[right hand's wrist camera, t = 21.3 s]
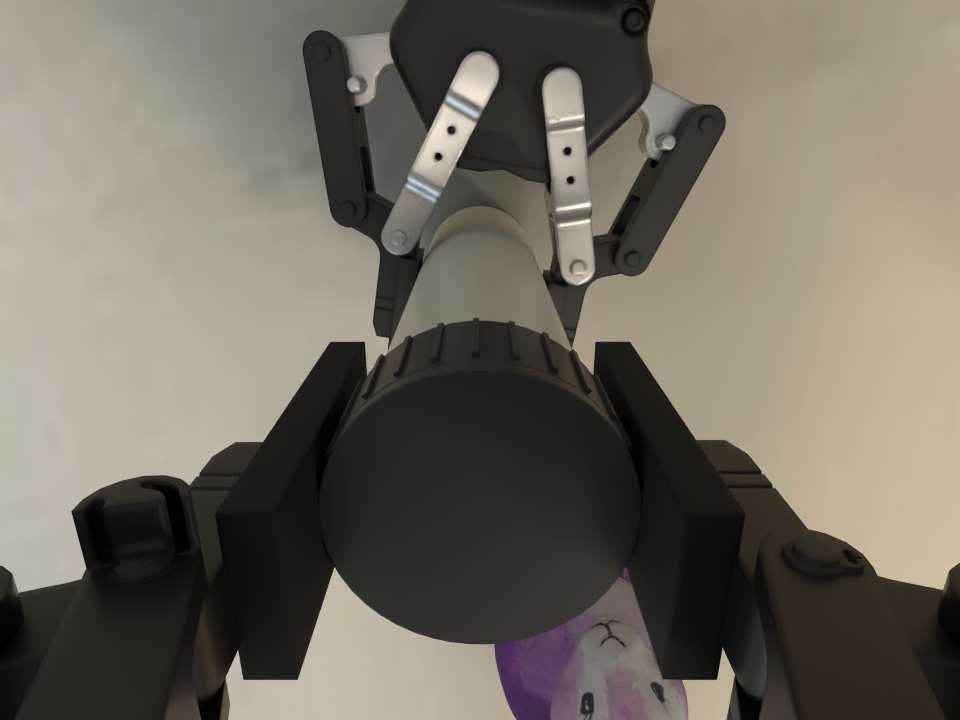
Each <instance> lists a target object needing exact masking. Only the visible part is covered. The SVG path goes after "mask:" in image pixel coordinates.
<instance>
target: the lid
mask: <svg viewBox="0 0 960 720" xmlns="http://www.w3.org/2000/svg"><path fill="white" fill-rule="evenodd" d="M633 450H634V449H633V446H632V444H631V442H630V439H629V437H628V435H627V433H626V431H625V429H624V427H623V424H622V422H621V420H620V418H619V416H618V414H617V412H616V409H615V407H614V405H613V403H612V401H610V400H609V398H608V396H607V394H606V392H605V390H604V387H603V385H602V383H601V381H600V379H599V377H598V375H597V374H596V373H595V374H593V375H592V374H591V373H590V371H589V370H588V369H587V367H586V366H585V365H584V364H583V363H582V362H581V361H580V360H579V357H578V355H577V352H575V351H574V350H573V349H572V350H571V351H569V350H567V349H566V348H565V347H563V346H562V345H561V344H559V343H558V342H556V341H554V340H552V339H550V338H549V335H548V333H546V332H544V331H543V332H542V334H541V333H538V332H536V331H533V330H531V329H528V328H526V327H522V326H518V325H515V322H513V321H509V323H504V322H496V321H479V318H473V321H464V322H456V323H450V324H446V325H444V323H443V322H442V323H439V324H437V327H435V328H432V329H429V330H427V331H424V332H422V333H419V334H417V335H415V336H413V337H411V335H409V336H407V337H405V339H404V342H403V343H401V344H400V345H398V346H397V347H396V348H394V349H393V350H392V351H390V352H389V353H388V354H386V355H385V356H383V355H382V354H381V355H380V356H379V357H378V359H377V361H376V363H375V366H374V368H373V369H372V370H371V372H370V373H369V374H368V376H367V377H366V378H365V380H364V381H363V380H362V379H360V380H359V381H358V383H357V385H356V387H355V389H354V392H353V394H352V396H351V398H350V400H349V402H348V404H347V407H346V409H345V411H344V413H343V415H342V417H341V420H340V422H339V424H338V426H337V429H336V431H335V433H334V435H333V437H332V439H331V441H330V444H329V446H328V448H327V450H326V452H325V455H324V458H327V462H326V464H325V467H324V470H323V472H322V477H321V482H320V487H319V494H318V505H319V515H320V525H321V533H322V537H323V541H324V545H325V547H326V550H327V552H328V554H329V557H330V559H331V561H332V563H333V565H334V566H335V568H336V570H337V571H338V573H339V575H340V576H341V578H342V579H343V580H344V582H345V583H346V584H347V585H348V586H349V588H350V589H351V590H352V591H353V592H354V593H355V594H356V595H357V596H358V597H359V598H360V599H361V600H362V601H363V602H364V603H365V604H366V605H368V606H369V607H370V608H372V609H373V610H374V611H376V612H377V613H378V614H380V615H381V616H383V617H384V618H386V619H388V620H390V621H391V622H393V623H395V624H396V625H399V626H401V627H403V628H405V629H408V630H410V631H412V632H414V633H418V634H421V635H424V636H427V637H430V638H434V639H439V640H443V641H448V642H455V643H465V644H496V643H505V642H512V641H517V640H522V639H526V638H530V637H533V636H536V635H539V634H543V633H546V632H548V631H550V630H553V629H555V628H557V627H559V626H562V625H564V624H566V623H567V622H569V621H571V620H572V619H574V618H576V617H577V616H579V615H581V614H582V613H583V612H585V611H586V610H587V609H589V608H590V607H591V606H593V605H594V604H595V603H596V602H597V601H598V600H599V599H600V598H601V597H602V596H603V595H604V594H605V593H607V592H608V590H609V589H610V588H611V587H612V585H613V584H614V583H615V582H616V580H617V579H618V578H619V577H620V575H621V573H622V572H623V570H624V568H625V567H626V565H627V563H628V562H629V559H630V557H631V555H632V552H633V550H634V548H635V545H636V542H637V538H638V534H639V529H640V519H641V510H642V492H641V486H640V481H639V477H638V472H637V469H636V467H635V464H634V461H633V459H632V456H631V454H630V452H631V451H633Z"/></svg>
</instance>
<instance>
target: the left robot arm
mask: <svg viewBox="0 0 960 720" xmlns="http://www.w3.org/2000/svg"><path fill="white" fill-rule="evenodd" d="M654 3H655V0H407V2H406V4H405V6H404V8H403V9H402V11H401V12H400V14H399V15H398V16H397V18H396V19H395V21H394V23H393V25H392V28H391V31H390V32H385V33H375V34H366V35H356V36H347V37H337V36H335V35H333V34H331V33H329V32H327V31H324V30H318V31H314V32H312V33H311V34H309V35H308V36H307V38H306V39H305V41H304V44H303V57H304V62H305V68H306V74H307V80H308V85H309V91H310V97H311V103H312V108H313V114H314V120H315V125H316V131H317V137H318V143H319V148H320V154H321V160H322V166H323V171H324V177H325V183H326V189H327V194H328V200H329V206H330V211H331V215H332V217H333V218H334V220H335V221H336V222H337V223H338V224H340V225H342V226H344V227H352V228H354V229H356V230H358V231H359V232H361V233H363V234H365V235H367V236H368V237H370V238H371V239H372V240H373V241H374V242H375V243H376V245H377V246H378V248H379V251H380V265H379V274H378V282H377V291H376V299H375V308H374V316H373V325H374V328H375V332H376V335H377V336H380V337H387V338H389V344H388V350H389V347H390V345H391V342H392V340H393V337H394V335H395V332H396V330H397V327H398V325H399V322H400V319H401V317H402V314H403V312H404V309H405V307H406V304H407V302H408V299H409V297H410V294H411V292H412V289H413V287H414V284H415V282H416V279H417V277H418V274H419V272H420V269H421V267H422V263H423V256H424V249H422V248H419V245H420V238H421V233H422V231H423V229H424V227H425V225H426V223H427V221H428V219H429V217H430V215H431V213H432V211H433V209H434V207H435V205H436V203H437V201H438V199H439V197H440V195H441V193H442V192H443V190H444V188H445V186H446V184H447V182H448V180H449V178H450V176H451V174H452V172H453V170H454V168H455V166H456V165H457V166H456V168H461V169H467V170H472V171H478V172H481V171H491V170H506V171H508V172H510V173H512V174H514V175H517V176H519V177H521V178H523V179H525V180H529V181H534V182H540V183H543V185H544V193H545V201H546V207H547V211H548V218H549V226H550V234H551V243H552V251H553V258H552V263H551V267H550V271H549V270H543V275H542V276H543V278H544V281H545V284H546V286H547V289H548V291H549V294H550V296H551V299H552V301H553V304H554V306H555V309H556V311H557V314H558V316H559V319H560V321H561V324H562V326H563V329H564V331H565V334H566V336H567V339H568V341H569V344H570V346H571V349H572V346H573V342H574V338H575V333H576V328H577V325H578V321H579V316H580V312H581V308H582V304H583V299H584V295H585V292H586V290H587V288H588V286H589V285H590V284H591V283H592V282H593V281H595V280H596V279H598V278H601V277H605V276H611V275H617V274H624V275H626V276H636V275H639V274H641V273H642V272H644V271H645V270H646V268H647V267H648V265H649V263H650V262H651V260H652V258H653V256H654V254H655V253H656V251H657V249H658V247H659V246H660V244H661V242H662V240H663V238H664V237H665V235H666V233H667V231H668V230H669V228H670V226H671V224H672V222H673V221H674V219H675V217H676V215H677V214H678V212H679V210H680V208H681V206H682V205H683V203H684V201H685V199H686V198H687V196H688V194H689V192H690V190H691V189H692V187H693V185H694V183H695V182H696V180H697V178H698V176H699V174H700V173H701V171H702V169H703V167H704V166H705V164H706V162H707V160H708V158H709V157H710V155H711V153H712V151H713V150H714V148H715V146H716V144H717V142H718V141H719V139H720V137H721V135H722V134H723V131H724V129H725V124H726V120H725V116H724V113H723V112H722V110H721V109H720V108H718V107H717V106H714V105H705V104H694V103H692V102H690V101H688V100H686V99H684V98H682V97H680V96H679V95H677V94H675V93H673V92H671V91H669V90H667V89H665V88H663V87H661V86H660V85H658V84H656V83H654V82H652V79H653V73H652V66H651V63H650V59H649V54H648V44H647V39H648V29H649V24H650V20H651V16H652V12H653V8H654ZM393 66H396V68H397V70H398V72H399V74H400V76H401V78H402V81H403V83H404V85H405V87H406V89H407V91H408V93H409V95H410V97H411V99H412V101H413V103H414V105H415V107H416V109H417V111H418V113H419V115H420V117H421V119H422V121H423V123H424V125H425V127H426V129H427V131H428V135H427V137H426V139H425V141H424V143H423V145H422V147H421V149H420V151H419V153H418V155H417V157H416V159H415V161H414V164H413V166H412V168H411V170H410V172H409V174H408V176H407V179H406V181H405V184H404V186H403V188H402V190H401V193H400V195H399V197H398V199H397V201H396V203H395V204H394V203H392V202H391V201H389V200H387V199H385V198H384V197H382V196H380V195H378V194H377V193H376V190H375V183H374V176H373V169H372V162H371V156H370V149H369V142H368V135H367V129H366V122H365V115H364V108H363V107H364V106H369V105H371V104H373V103H374V102H375V101H376V100H377V99H378V97H379V94H380V83H381V78H382V76H383V74H384V73H385V71H386V70H387V69H389V68H390V67H393ZM635 112H637V113H638V115H639V116H640V118H641V121H642V132H641V134H640V137H639V148H640V151H641V153H642V154H643V155H644V156H645V157H647V160H646V162H645V164H644V166H643V168H642V169H641V171H640V173H639V175H638V177H637V179H636V181H635V183H634V185H633V186H632V188H631V190H630V192H629V194H628V196H627V198H626V200H625V202H624V203H623V205H622V207H621V209H620V211H619V213H618V215H617V217H616V218H615V220H614V222H613V224H612V226H611V228H610V230H609V232H608V234H604V235H599V236H592V225H591V214H592V201H591V191H590V180H589V169H588V159H587V158H588V157H589V156H590V155H591V154H592V153H594V152H595V151H596V150H597V149H598V148H599V147H600V146H601V145H602V144H603V143H604V142H605V141H606V140H607V139H608V138H609V137H610V136H611V135H612V134H613V133H614V132H615V131H616V130H617V129H618V128H619V127H620V126H621V125H622V124H623V123H625V122H626V121H627V120H628V119H629V118H630V117H631V116H632V115H633V114H634V113H635Z"/></svg>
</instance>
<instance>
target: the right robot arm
mask: <svg viewBox="0 0 960 720" xmlns="http://www.w3.org/2000/svg"><path fill="white" fill-rule="evenodd" d="M595 373H596V374H597V375H598V377H599V379H600V381H601V383H602V385H603V387H604V390H605V392H606V394H607V396H608V398H609V400H610V401H612V403H613V405H614V407H615V409H616V412H617V414H618V416H619V418H620V420H621V422H622V424H623V427H624V429H625V431H626V433H627V435H628V437H629V439H630V442H631V444H632V446H633V449H634V450H633V451H631V452H630V454H631V456H632V459H633V461H634V464H635V467H636V469H637V472H638V477H639V481H640V486H641V492H642V510H641V519H640V529H639V534H638V538H637V542H636V545H635V548H634V550H633V552H632V555H631V557H630V559H629V562H628V563H627V565H626V568H627V572H628V575H629V578H630V581H631V584H632V587H633V590H634V593H635V596H636V599H637V602H638V605H639V608H640V611H641V615H642V618H643V621H644V624H645V627H646V630H647V633H648V636H649V639H650V642H651V645H652V648H653V651H654V654H655V658H656V661H657V664H658V667H659V670H660V673H661V676H662V679H663V680H717V676H718V671H719V665H720V659H721V653H722V648H723V649H724V651H725V653H726V656H727V658H728V660H729V662H730V664H731V667H732V669H733V671H734V673H735V678H734V683H733V688H732V694H731V699H730V704H729V710H728V715H727V720H960V563H959V564H957V565H956V566H955V567H953V568H952V569H951V570H950V571H949V573H948V577H947V580H946V583H945V586H944V589H943V590H940V589H935V588H930V587H925V586H920V585H915V584H910V583H905V582H900V581H895V580H891V579H887V578H883V577H879V576H877V574H876V572H875V570H874V568H873V566H872V565H871V564H870V563H869V561H868V560H867V559H866V557H865V556H864V555H863V554H862V553H860V552H859V551H858V550H856V549H855V548H853V547H852V546H850V545H849V544H848V543H846V542H844V541H842V540H839V539H837V538H835V537H832V536H830V535H828V534H826V533H821V532H817V531H813V530H809V529H807V527H806V526H805V525H804V524H803V522H802V521H801V520H800V519H799V517H798V516H797V515H796V514H795V512H794V511H793V510H792V509H791V507H790V506H789V505H788V504H787V502H786V501H785V500H784V499H783V497H782V496H781V495H780V494H779V492H778V491H777V490H776V489H775V488H773V487H772V484H771V482H770V481H769V480H768V479H767V477H766V476H765V475H764V474H761V470H760V469H759V467H758V466H757V465H756V464H755V462H754V461H753V460H752V459H751V457H750V456H749V455H748V454H747V453H745V452H743V451H742V450H740V449H739V448H737V447H735V446H734V445H732V444H731V443H729V442H727V441H726V440H696V439H695V438H694V436H693V435H692V433H691V432H690V430H689V429H688V427H687V426H686V425H685V423H684V422H683V420H682V419H681V417H680V416H679V414H678V413H677V411H676V410H675V408H674V407H673V405H672V404H671V402H670V401H669V399H668V398H667V396H666V395H665V393H664V392H663V390H662V389H661V387H660V386H659V384H658V383H657V381H656V380H655V378H654V377H653V376H652V374H651V373H650V371H649V370H648V368H647V367H646V365H645V364H644V362H643V361H642V359H641V358H640V356H639V355H638V353H637V352H636V350H635V349H634V347H633V346H632V344H631V343H630V342H596V345H595V359H594V374H595ZM366 377H367V368H366V353H365V342H330V343H329V345H328V346H327V348H326V349H325V351H324V352H323V354H322V355H321V357H320V358H319V360H318V361H317V363H316V364H315V366H314V367H313V369H312V370H311V372H310V373H309V375H308V376H307V378H306V379H305V381H304V382H303V384H302V385H301V387H300V388H299V389H298V391H297V392H296V394H295V395H294V397H293V398H292V400H291V401H290V403H289V404H288V406H287V407H286V409H285V410H284V412H283V413H282V415H281V416H280V418H279V419H278V421H277V422H276V424H275V425H274V427H273V428H272V430H271V431H270V433H269V434H268V436H267V437H266V439H265V440H264V442H235V443H234V444H232V445H230V446H229V447H227V448H226V449H224V450H222V451H221V452H219V453H217V454H216V455H214V456H213V457H212V458H211V459H210V461H209V462H208V463H207V464H206V466H205V467H204V468H203V469H202V471H201V472H200V473H199V474H200V475H199V476H197V477H196V478H195V479H194V481H193V482H192V483H191V484H190V486H189V485H188V484H187V483H186V482H184V481H183V480H182V479H180V478H175V477H170V476H166V475H159V476H142V477H137V478H132V479H127V480H122V481H120V482H117V483H114V484H112V485H109V486H106V487H104V488H101V489H99V490H98V491H96V492H94V493H93V494H91V495H89V496H88V497H86V498H84V499H83V500H82V501H81V502H80V503H79V504H78V505H77V506H76V507H75V508H74V509H73V510H72V511H71V512H72V516H73V519H74V523H75V527H76V531H77V534H78V538H79V542H80V546H81V549H82V553H83V557H84V561H85V564H86V568H87V569H86V571H85V573H84V575H83V577H82V579H81V580H77V581H73V582H69V583H64V584H60V585H55V586H50V587H45V588H40V589H35V590H30V591H25V592H20V593H18V591H17V587H16V584H15V581H14V578H13V575H12V573H11V572H9V571H8V570H7V569H6V568H4V567H3V566H0V720H228V716H229V707H230V702H229V695H228V688H227V683H226V678H225V677H226V675H227V673H228V671H229V669H230V666H231V664H232V662H233V660H234V658H235V655H236V653H237V651H239V657H240V663H241V668H242V674H243V680H298V677H299V674H300V671H301V668H302V665H303V662H304V659H305V656H306V653H307V650H308V646H309V643H310V640H311V637H312V634H313V631H314V628H315V625H316V622H317V619H318V616H319V613H320V610H321V607H322V603H323V600H324V597H325V594H326V591H327V588H328V585H329V582H330V579H331V576H332V573H333V570H334V567H335V566H334V565H333V563H332V561H331V559H330V557H329V554H328V552H327V550H326V547H325V545H324V541H323V537H322V533H321V525H320V515H319V505H318V494H319V487H320V482H321V477H322V472H323V470H324V467H325V464H326V462H327V458H324V455H325V452H326V450H327V448H328V446H329V444H330V441H331V439H332V437H333V435H334V433H335V431H336V429H337V426H338V424H339V422H340V420H341V417H342V415H343V413H344V411H345V409H346V407H347V404H348V402H349V400H350V398H351V396H352V394H353V392H354V389H355V387H356V385H357V383H358V381H359V380H360V379H362V380H363V381H364V380H365V378H366Z"/></svg>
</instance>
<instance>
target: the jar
mask: <svg viewBox="0 0 960 720" xmlns="http://www.w3.org/2000/svg"><path fill="white" fill-rule="evenodd" d="M473 318H479V321H496V322H504V323H509V321H513V322H515V325H518V326H522V327H526V328H528V329H531V330H533V331H536V332H538V333H541V334H542V332H543V331H544V332H546V333H548V335H549V338H550V339H552V340H554V341H556V342H558V343H559V344H561V345H562V346H563V347H565V348H566V349H567V350H569V351H571V350H572V349H571V346H570V344H569V341H568V339H567V336H566V334H565V331H564V329H563V326H562V324H561V321H560V319H559V316H558V314H557V311H556V309H555V306H554V304H553V301H552V299H551V296H550V294H549V291H548V289H547V286H546V284H545V281H544V278H543V276H542V273H541V271H540V268H539V266H538V263H537V261H536V258H535V256H534V253H533V251H532V248H531V246H530V243H529V241H528V238H527V236H526V234H525V232H524V230H523V229H522V227H521V226H520V225H519V223H518V222H517V221H516V220H515V219H514V218H512V217H511V216H510V215H508V214H507V213H505V212H503V211H501V210H499V209H496V208H493V207H488V206H472V207H468V208H464V209H462V210H459V211H457V212H455V213H453V214H452V215H451V216H449V217H448V218H447V219H446V220H445V221H444V222H443V223H442V224H441V225H440V226H439V228H438V229H437V231H436V233H435V235H434V237H433V239H432V242H431V244H430V247H429V249H428V252H427V254H426V257H425V259H424V262H423V264H422V267H421V269H420V272H419V274H418V277H417V279H416V282H415V284H414V287H413V289H412V292H411V294H410V297H409V299H408V302H407V304H406V307H405V309H404V312H403V314H402V317H401V319H400V322H399V325H398V327H397V330H396V332H395V335H394V337H393V340H392V342H391V345H390V347H389V350H388V352H387V354H388V353H389V352H390V351H392V350H393V349H394V348H396V347H397V346H398V345H400V344H401V343H403V342H404V339H405V337H407V336H409V335H411V337H413V336H415V335H417V334H419V333H422V332H424V331H427V330H429V329H432V328H435V327H437V324H439V323H442V322H443V323H444V325H446V324H450V323H456V322H464V321H473Z"/></svg>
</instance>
